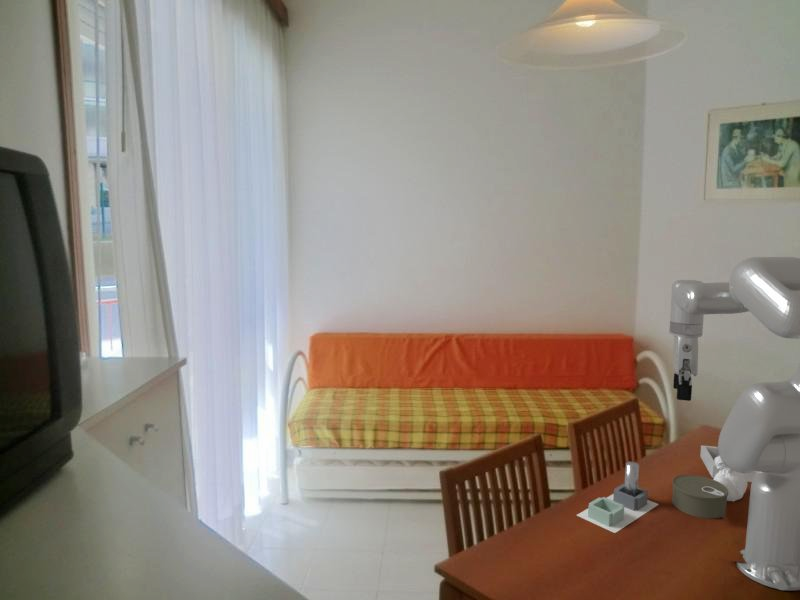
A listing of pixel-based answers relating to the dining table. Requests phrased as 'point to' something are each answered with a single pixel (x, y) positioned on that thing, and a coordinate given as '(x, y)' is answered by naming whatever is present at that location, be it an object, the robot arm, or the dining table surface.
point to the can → (700, 496)
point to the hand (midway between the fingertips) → (681, 394)
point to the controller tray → (708, 455)
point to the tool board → (617, 509)
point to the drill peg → (631, 478)
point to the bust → (730, 480)
